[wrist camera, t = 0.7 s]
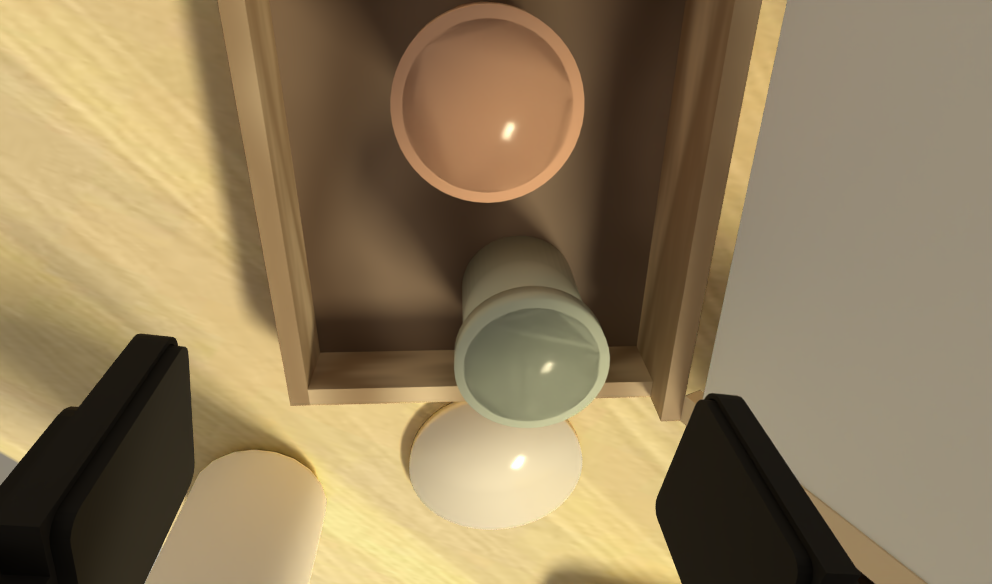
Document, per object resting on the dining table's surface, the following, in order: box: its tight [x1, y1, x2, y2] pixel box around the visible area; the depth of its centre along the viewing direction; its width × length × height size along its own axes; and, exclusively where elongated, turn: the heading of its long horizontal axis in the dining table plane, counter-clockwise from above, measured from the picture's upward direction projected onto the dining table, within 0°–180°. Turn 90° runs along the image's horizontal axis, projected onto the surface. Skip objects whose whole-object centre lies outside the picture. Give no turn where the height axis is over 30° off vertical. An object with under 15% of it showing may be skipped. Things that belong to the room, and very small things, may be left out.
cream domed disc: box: [409, 401, 582, 530], centre depth 40 cm, size 11×11×1 cm
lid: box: [680, 0, 992, 584], centre depth 19 cm, size 20×22×1 cm
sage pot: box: [454, 236, 610, 428], centre depth 31 cm, size 7×7×8 cm
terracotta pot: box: [390, 2, 584, 203], centre depth 25 cm, size 7×7×8 cm
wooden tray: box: [217, 0, 762, 421], centre depth 29 cm, size 20×22×6 cm
